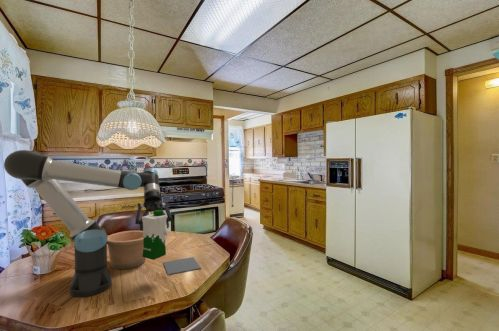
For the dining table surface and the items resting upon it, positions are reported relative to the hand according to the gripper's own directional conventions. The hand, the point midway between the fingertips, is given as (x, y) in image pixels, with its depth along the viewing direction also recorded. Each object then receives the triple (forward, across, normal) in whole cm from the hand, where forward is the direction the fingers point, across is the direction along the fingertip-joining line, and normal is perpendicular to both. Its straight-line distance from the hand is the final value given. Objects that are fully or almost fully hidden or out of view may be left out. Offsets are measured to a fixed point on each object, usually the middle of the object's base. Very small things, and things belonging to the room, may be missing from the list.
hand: (155, 235), depth 111 cm
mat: (+5, -14, -25) cm, 29 cm away
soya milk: (+5, 0, -9) cm, 10 cm away
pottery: (-6, +10, -37) cm, 39 cm away
